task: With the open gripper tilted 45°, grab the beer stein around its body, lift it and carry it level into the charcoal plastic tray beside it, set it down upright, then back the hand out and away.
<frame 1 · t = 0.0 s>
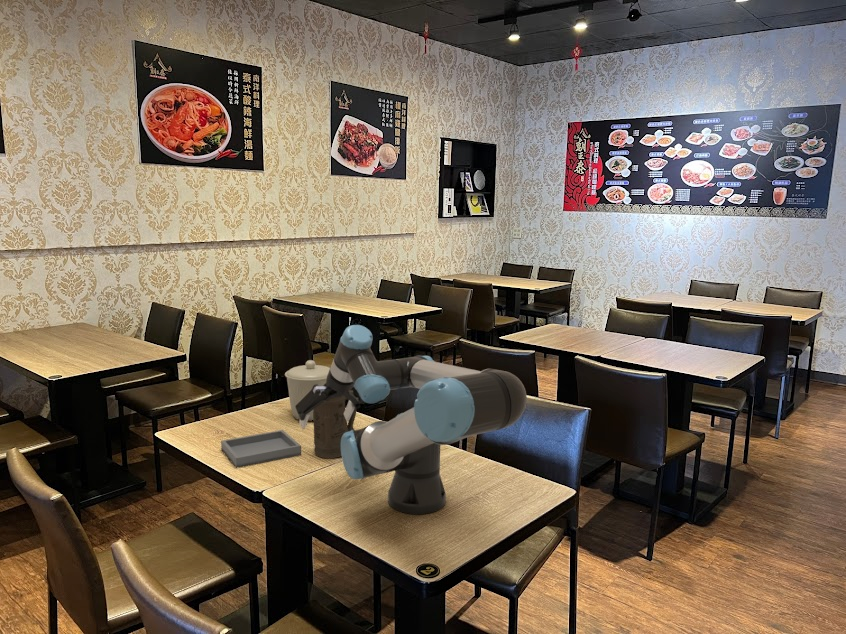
hand: (324, 421, 179), 15 cm above the table, tool tilted 35°, fingers open, 13 cm apart
beer stein: (335, 451, 197), on the table
tray: (261, 452, 195), on the table
canister: (310, 417, 229), on the table
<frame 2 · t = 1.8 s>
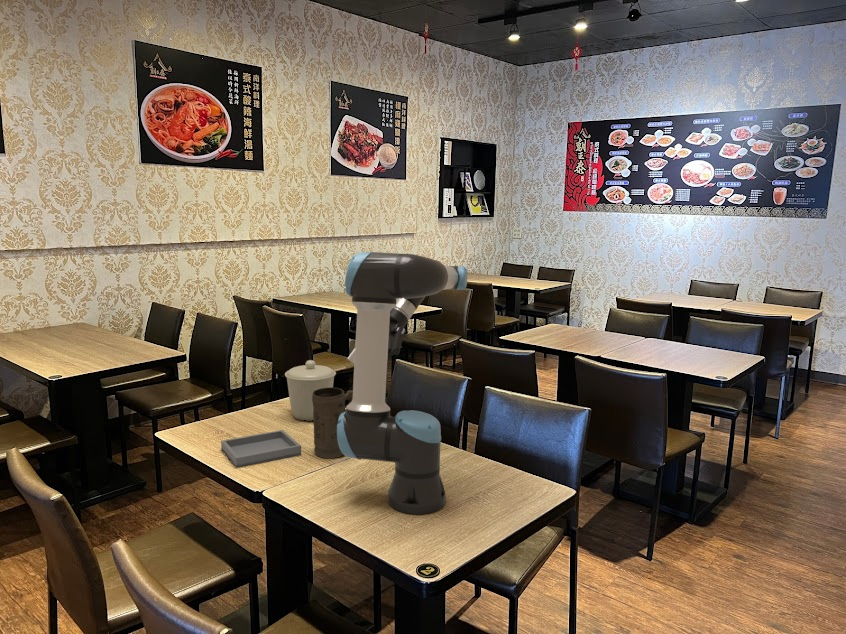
hand: (362, 365, 200), 26 cm above the table, tool tilted 45°, fingers open, 13 cm apart
nothing on the table moved.
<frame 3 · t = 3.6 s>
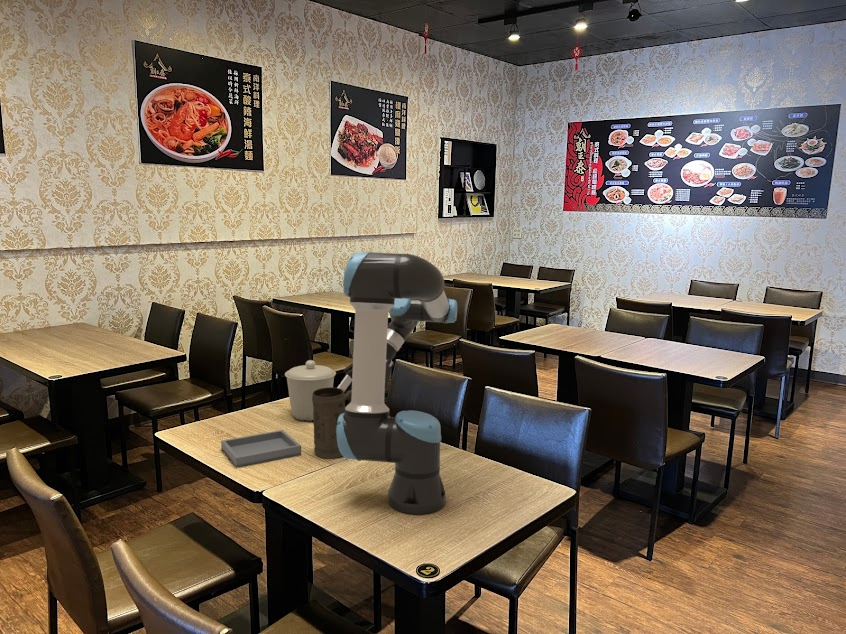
hand: (350, 398, 199), 16 cm above the table, tool tilted 45°, fingers open, 13 cm apart
nothing on the table moved.
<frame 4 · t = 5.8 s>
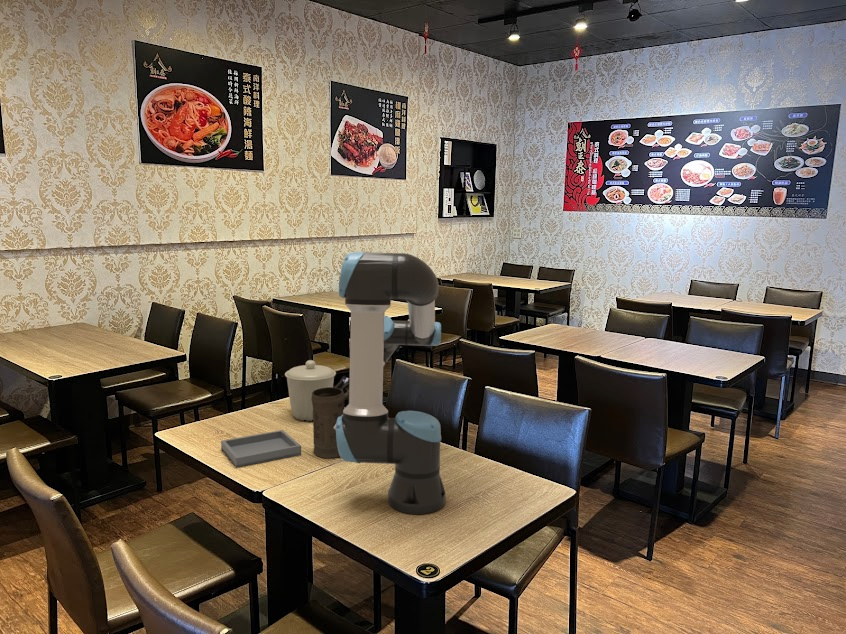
hand: (327, 426, 193), 9 cm above the table, tool tilted 45°, fingers closed on beer stein, 9 cm apart
beer stein: (334, 451, 197), on the table, touching gripper
everything else where it was.
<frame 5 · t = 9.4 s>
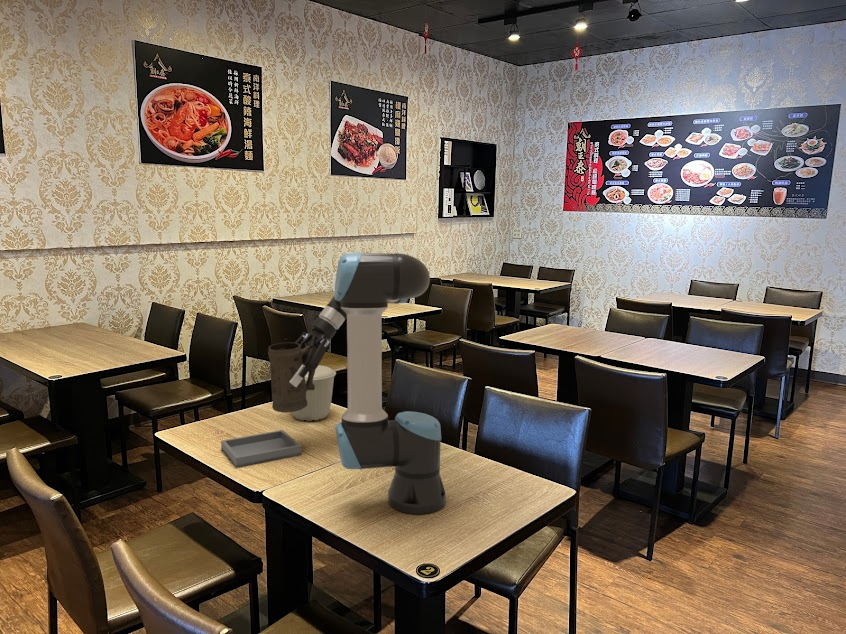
hand: (284, 380, 192), 23 cm above the table, tool tilted 45°, fingers closed on beer stein, 9 cm apart
beer stein: (294, 406, 196), point 14 cm above the table, touching gripper
everything else where it was.
when the fingers open (11 cm above the table, at t = 12.9 s): beer stein drops 2 cm, resting on tray.
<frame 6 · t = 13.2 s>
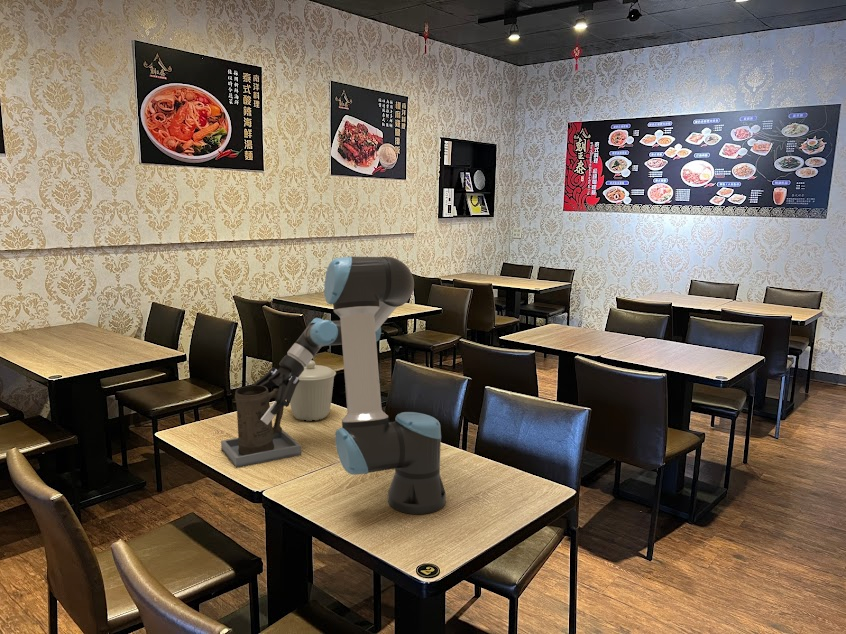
hand: (253, 416, 191), 12 cm above the table, tool tilted 45°, fingers open, 13 cm apart
beer stein: (260, 450, 195), point 1 cm above the table, touching tray
everything else where it was.
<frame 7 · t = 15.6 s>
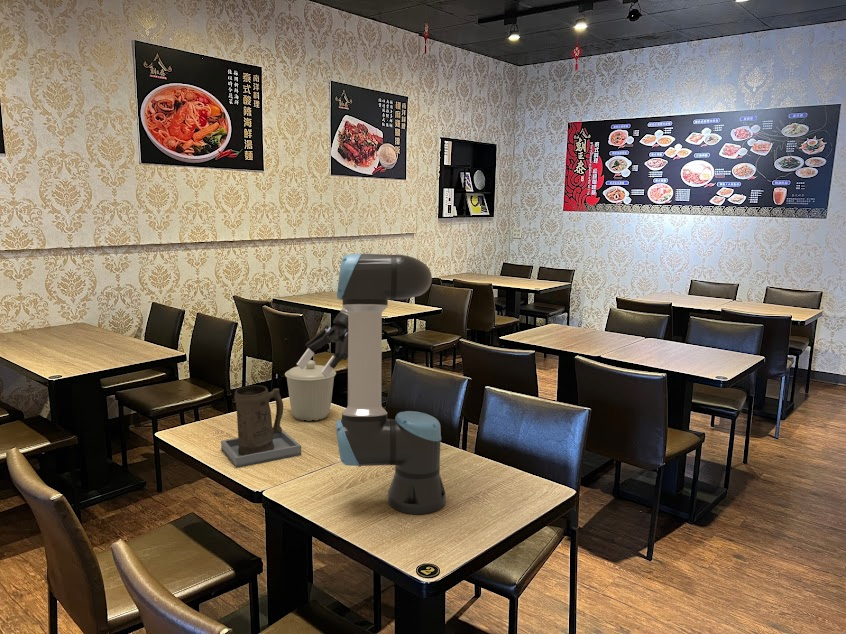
hand: (311, 370, 199), 24 cm above the table, tool tilted 45°, fingers open, 13 cm apart
nothing on the table moved.
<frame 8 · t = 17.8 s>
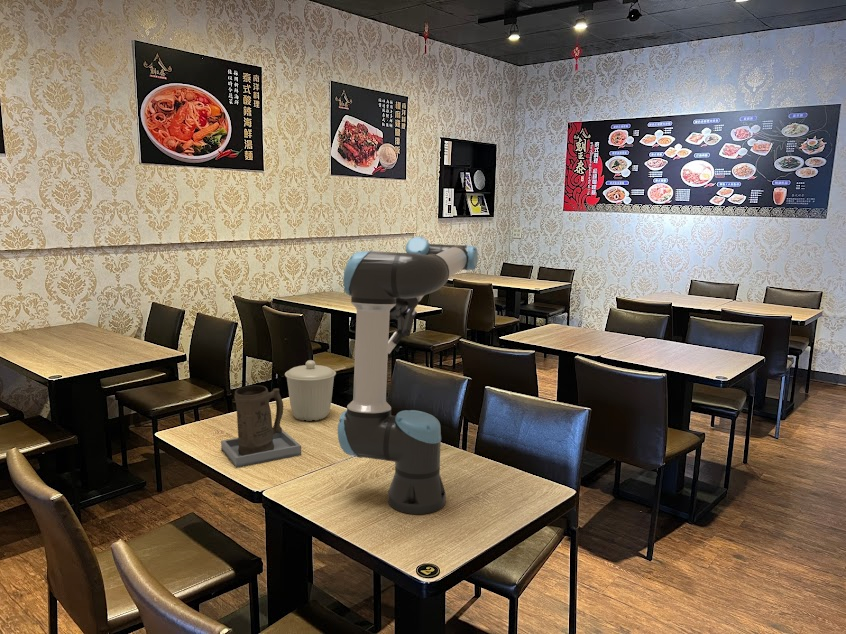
hand: (372, 347, 196), 33 cm above the table, tool tilted 45°, fingers open, 13 cm apart
nothing on the table moved.
at the end: beer stein inside the target area on the tray (0.2 cm from its centre), point 0.6 cm above the tray's base; beer stein tilted 0°; the gripper is holding nothing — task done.
